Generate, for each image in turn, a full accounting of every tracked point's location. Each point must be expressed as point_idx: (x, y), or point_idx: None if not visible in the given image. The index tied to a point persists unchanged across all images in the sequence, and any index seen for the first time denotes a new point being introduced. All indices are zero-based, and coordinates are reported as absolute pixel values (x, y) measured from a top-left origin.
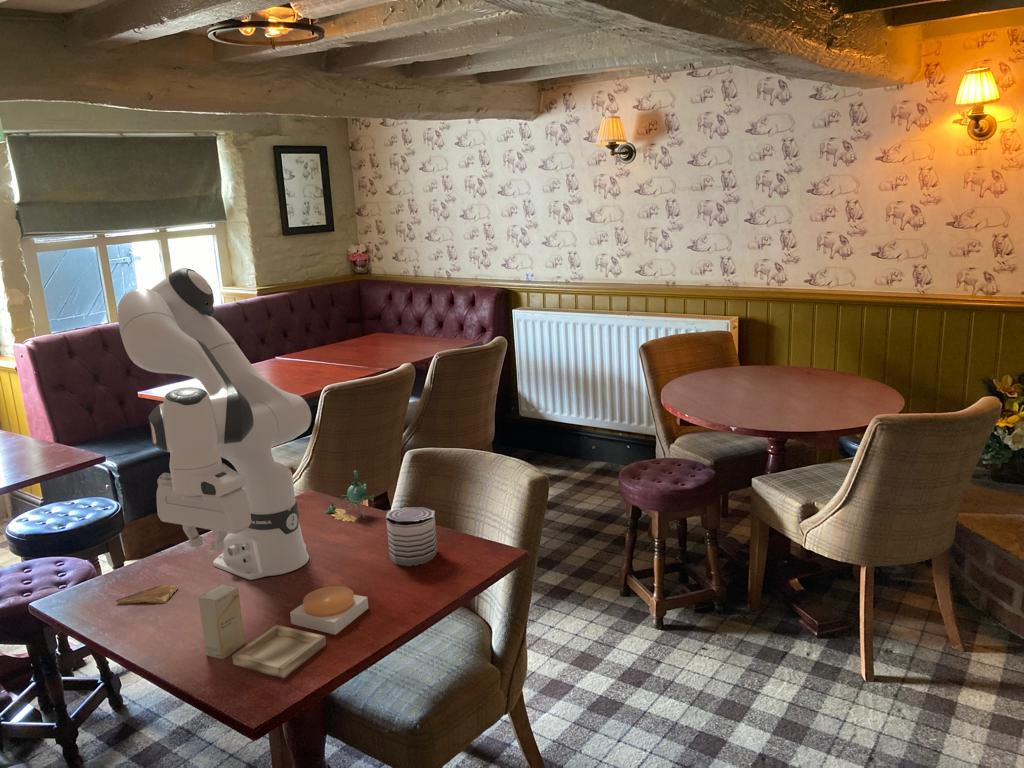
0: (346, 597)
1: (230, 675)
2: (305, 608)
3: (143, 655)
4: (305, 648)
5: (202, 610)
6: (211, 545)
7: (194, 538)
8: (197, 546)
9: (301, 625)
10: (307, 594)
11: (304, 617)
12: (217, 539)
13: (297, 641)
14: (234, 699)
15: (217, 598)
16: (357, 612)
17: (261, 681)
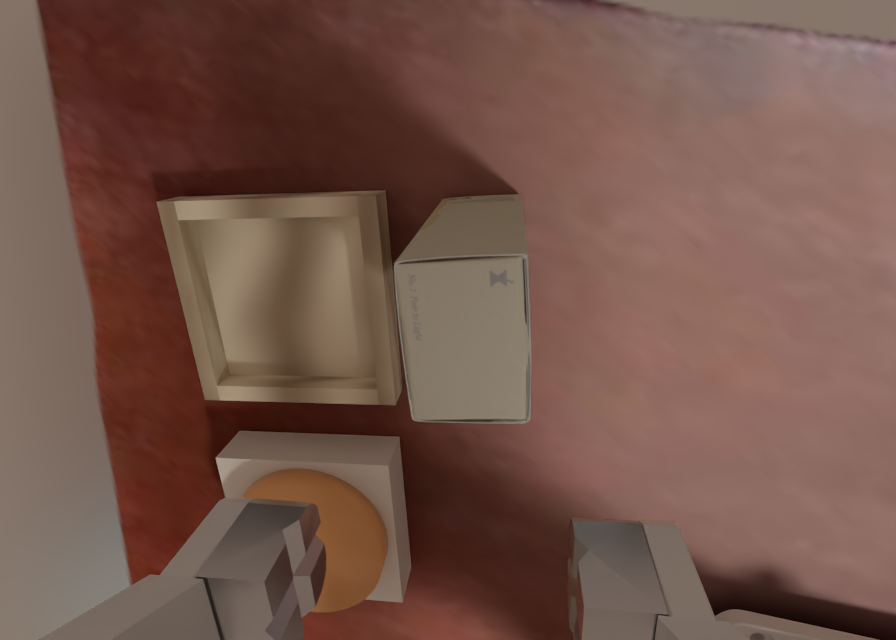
0: None
1: (344, 137)
2: (334, 488)
3: (786, 93)
4: (195, 323)
5: (506, 235)
6: (276, 548)
7: (621, 634)
8: (571, 535)
9: (356, 440)
10: (379, 551)
11: (331, 458)
12: (69, 630)
13: (298, 368)
14: (212, 28)
15: (405, 286)
16: None
17: (226, 155)
